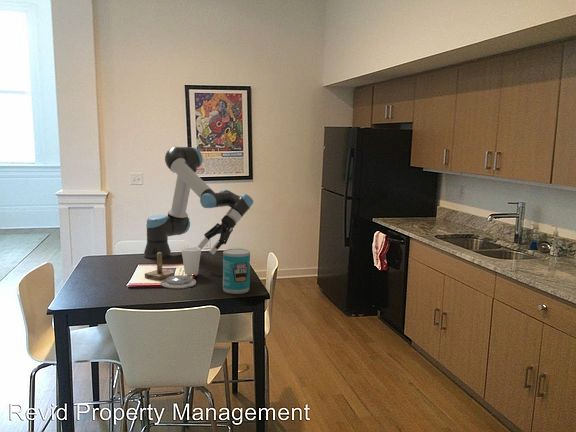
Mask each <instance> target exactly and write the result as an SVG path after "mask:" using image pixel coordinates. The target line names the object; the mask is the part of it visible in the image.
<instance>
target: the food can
mask: <svg viewBox="0 0 576 432" xmlns="http://www.w3.org/2000/svg"><path fill="white" fill-rule="evenodd" d="M222 254H223V255H222V257H223V258H222V265H223V266H222V290H223V292H225V293H227V294H232V295H239V294H245V293H246V294H247V293H248V292H250V285H251V283H250V282H251V281H250V276H251V275H250V273H251V271H250V270H251V251H250V250H249V249H247V248H246V249H245V248H228V249H224V250H223V252H222Z"/></svg>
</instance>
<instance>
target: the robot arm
mask: <svg viewBox="0 0 576 432" xmlns="http://www.w3.org/2000/svg"><path fill="white" fill-rule="evenodd" d="M203 160H204V159H203V155H202V153H201V151H200V149H198V148H197V147H191V146H173V147H171V148H169V149H168V150H167V152H166V153H165V156H164V162H165V165H166V166H167V168H168V169H169V170H170V171H171V172H172V173H174V174H175V173H176V175H177V177H176V182H175V187H174V193H173V198H172V204H171V209H169V210H168V212H167V215H166V214H156V215H152V216H149V217H148V218H147V219H146V224H145V225H146V245H145V248H144V251H143V257H144V258H146V259H147V258H148V259H157V253H159V252H161V253H162V259H165V258H169V257H171V255H172V253H171V249H170V246H169V242H168V241H169V240H168V239H169V238H168V237H172V236H181V235H183V234H186V233H188V231H189V230H190V226H191V221H190V217H189V215H188V213H187V207H188V204H189V203H188V202H189V198H190V197H189V196H190V192H191V190H192V191H193V192H194V193H195V194H196V195H197V196H198V198H199V202H200V205H201V207H203V208H204V209H214V208H223V207H230V209H229V210H228V211H227V212H226V214H225V215H224V216H223V217H222V218H221V223H219V222H217V223H216V224H215V225H214V226H213V227H211V228H210V229H209V230H207V231H206V232H205V233H204V234H203V236H204V237H203V239H202V240H201V241H200V242H199V244H198V245H197V247H198V248H200V249H201V251H202V249H204V247H205V246H206V245H207V244H208V242H209V241H210V239H212V238H213V237H215V236H217V235H219V234H220V236H219V239H218V240H217V242H215V244H214V245H213V246H212V247H211V248H210V250H209V252H210V254H211V255H213V256H214V255H215V254H216V252H217V251H218V250H219V249H220V248H221V247H222V245H226V244H227V243H228V240H229V238H230V236H231V234H232V232H233V231H234V228H235V227H236V225H237V224H238V223H239V221H241V219H242V218H243V217H244V215H245V214H247V212H248V210H250V209H251V207H252V206H253V204H254V200H253V198H252V196H250V195H249V194H247V193H242V194H241V195H238V194H236V193H234V192H232V191H231V190H228V189H222V190H221V191H219V192H215V191H214V190H213V189H212V188H211V187H210V186H209V185H208V184H207V183H206V182H205V181H204V180H203V179H202V178H201V177H200V176H199V175H198V174H197V171H198V170H197V169H198V168H200V167H201V166H202V164H203Z"/></svg>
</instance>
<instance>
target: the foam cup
mask: <svg viewBox="0 0 576 432" xmlns="http://www.w3.org/2000/svg"><path fill="white" fill-rule="evenodd" d="M201 254H202V250H201V249H200V248H198V247H196V246H189V247H183V248H181V256H182V261H183V262H182V264H183V269H184V270H183V271H184V275H185V274H187V275H192V274H195V276H198V275H199V268H200V261H201ZM187 275H186V276H187Z"/></svg>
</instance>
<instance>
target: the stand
mask: <svg viewBox="0 0 576 432" xmlns="http://www.w3.org/2000/svg"><path fill="white" fill-rule="evenodd" d="M156 266H157V267H156V270H151V271H148V272H145V273H144V278H146V279H151V280H154V281H159V282H161V281H163V280H165V279H167V278H168V277H171V276H176V275H175V271H169V270H165V269H163V258H162V253H161V252H159V253H157V258H156Z"/></svg>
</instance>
